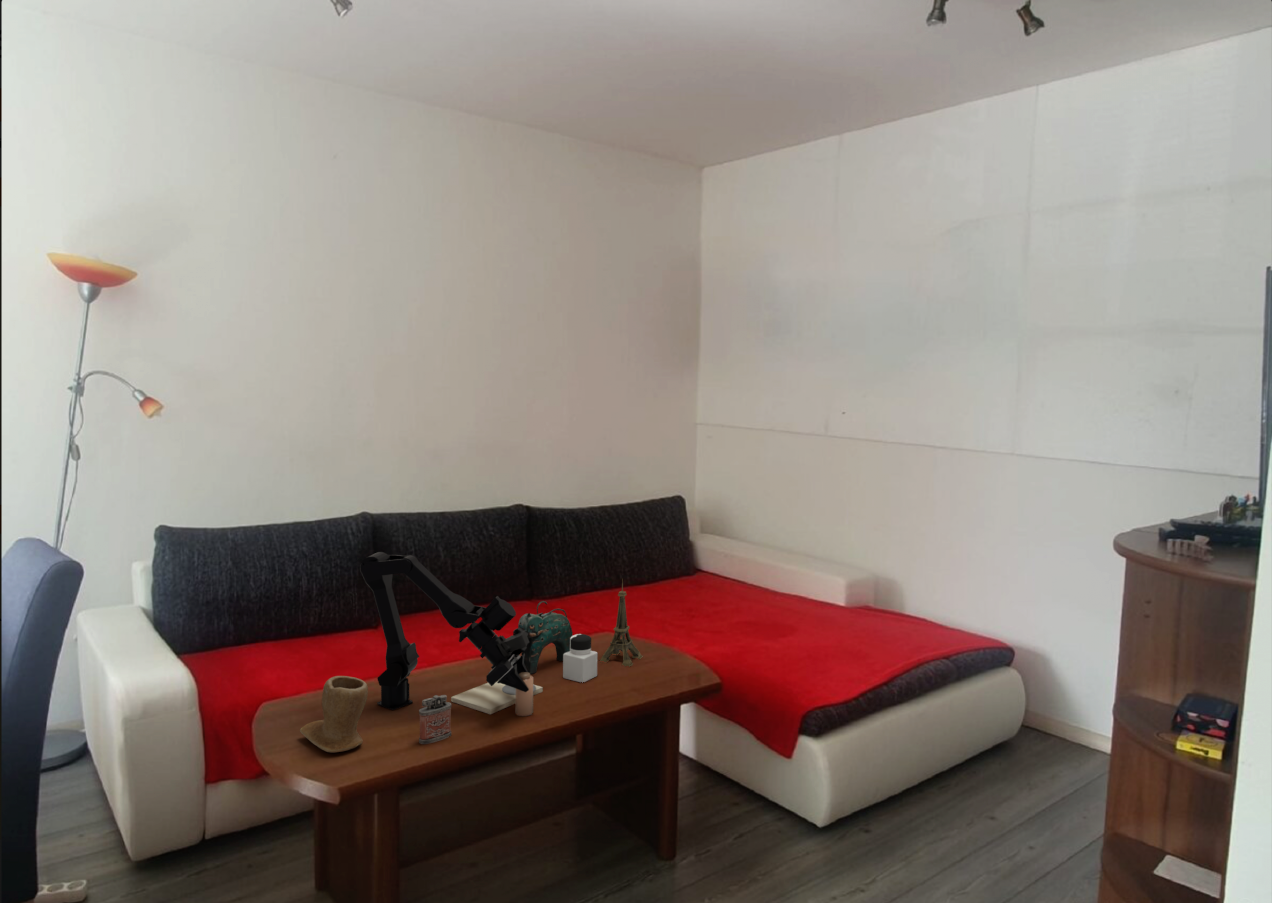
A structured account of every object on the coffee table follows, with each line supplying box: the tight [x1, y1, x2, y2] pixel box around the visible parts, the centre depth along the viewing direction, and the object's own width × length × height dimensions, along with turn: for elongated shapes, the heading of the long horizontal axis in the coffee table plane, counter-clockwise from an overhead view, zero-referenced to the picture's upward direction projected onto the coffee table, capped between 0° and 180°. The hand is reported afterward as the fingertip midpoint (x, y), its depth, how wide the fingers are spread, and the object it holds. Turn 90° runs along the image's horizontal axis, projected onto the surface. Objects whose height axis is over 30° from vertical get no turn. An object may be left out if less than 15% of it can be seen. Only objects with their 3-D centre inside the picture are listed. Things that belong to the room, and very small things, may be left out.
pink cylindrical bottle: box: [515, 672, 534, 717], centre depth 213 cm, size 4×4×10 cm
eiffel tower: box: [599, 578, 644, 668], centre depth 256 cm, size 11×11×25 cm
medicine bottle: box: [562, 633, 598, 684], centre depth 240 cm, size 7×7×12 cm
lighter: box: [418, 694, 452, 745], centre depth 197 cm, size 8×3×10 cm, turn 135°
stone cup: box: [299, 675, 369, 753], centre depth 193 cm, size 15×12×15 cm
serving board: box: [450, 681, 544, 715], centre depth 224 cm, size 20×14×1 cm
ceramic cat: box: [517, 600, 574, 675], centre depth 248 cm, size 20×6×20 cm, turn 141°
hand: (529, 687), depth 213 cm, fingers closed on pink cylindrical bottle, 4 cm apart
